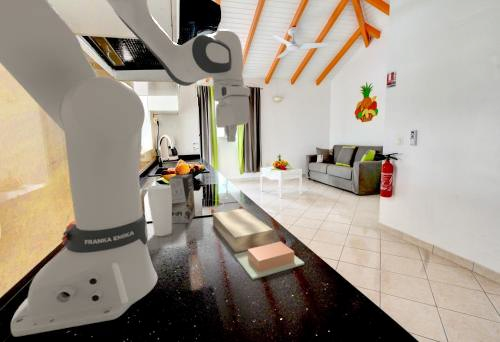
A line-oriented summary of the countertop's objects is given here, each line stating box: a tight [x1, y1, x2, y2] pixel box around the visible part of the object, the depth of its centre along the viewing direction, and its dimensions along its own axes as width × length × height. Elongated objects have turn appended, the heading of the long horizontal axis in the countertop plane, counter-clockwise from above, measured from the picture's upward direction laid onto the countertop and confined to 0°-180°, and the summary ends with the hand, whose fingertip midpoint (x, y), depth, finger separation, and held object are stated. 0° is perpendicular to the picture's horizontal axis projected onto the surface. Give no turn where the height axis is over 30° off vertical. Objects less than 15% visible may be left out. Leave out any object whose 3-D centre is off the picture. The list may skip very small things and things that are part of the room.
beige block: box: [212, 208, 274, 253], centre depth 72 cm, size 11×22×4 cm, turn 24°
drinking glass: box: [147, 184, 173, 237], centre depth 73 cm, size 7×7×15 cm
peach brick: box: [247, 241, 295, 272], centre depth 55 cm, size 9×6×2 cm, turn 114°
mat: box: [233, 250, 305, 280], centre depth 56 cm, size 13×11×1 cm
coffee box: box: [168, 173, 196, 224], centre depth 86 cm, size 9×6×16 cm
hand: (231, 141), depth 71 cm, fingers closed
